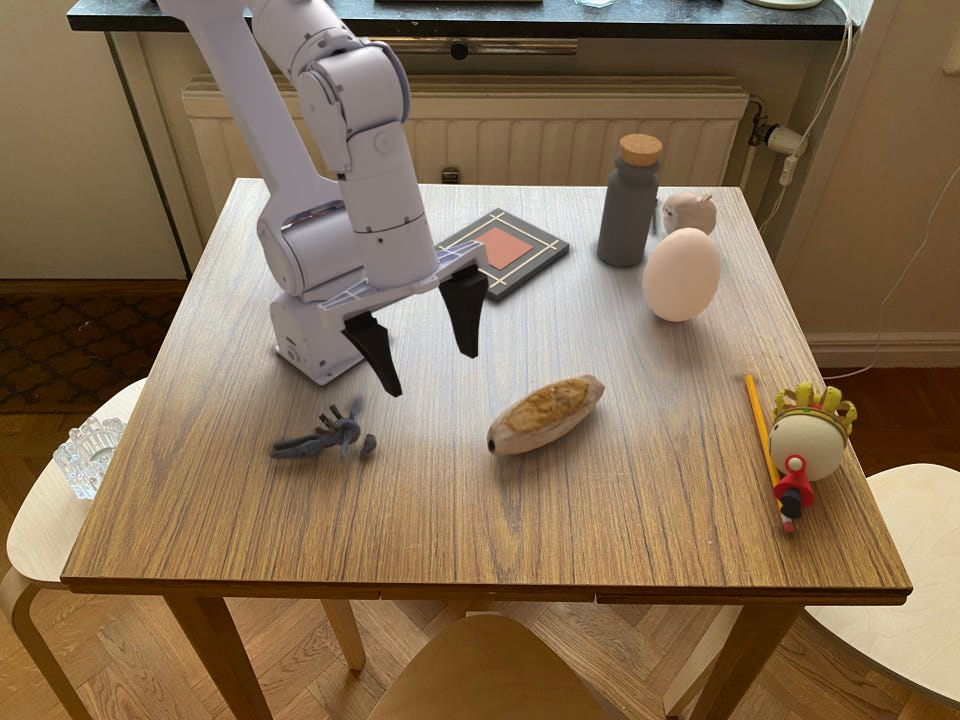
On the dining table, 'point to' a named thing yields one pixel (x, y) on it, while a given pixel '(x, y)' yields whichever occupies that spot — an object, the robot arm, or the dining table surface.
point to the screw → (654, 217)
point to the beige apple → (689, 212)
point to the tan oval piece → (544, 415)
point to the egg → (681, 275)
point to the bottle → (630, 200)
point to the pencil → (766, 445)
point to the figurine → (326, 438)
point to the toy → (807, 442)
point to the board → (509, 249)
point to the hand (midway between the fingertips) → (432, 373)
